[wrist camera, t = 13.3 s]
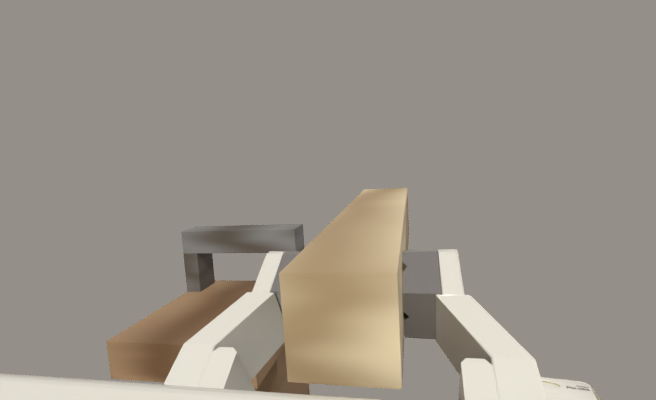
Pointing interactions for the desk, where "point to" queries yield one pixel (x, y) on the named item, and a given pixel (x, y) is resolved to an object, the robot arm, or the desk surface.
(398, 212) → the handle
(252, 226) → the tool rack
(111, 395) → the robot arm
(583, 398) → the ink box
